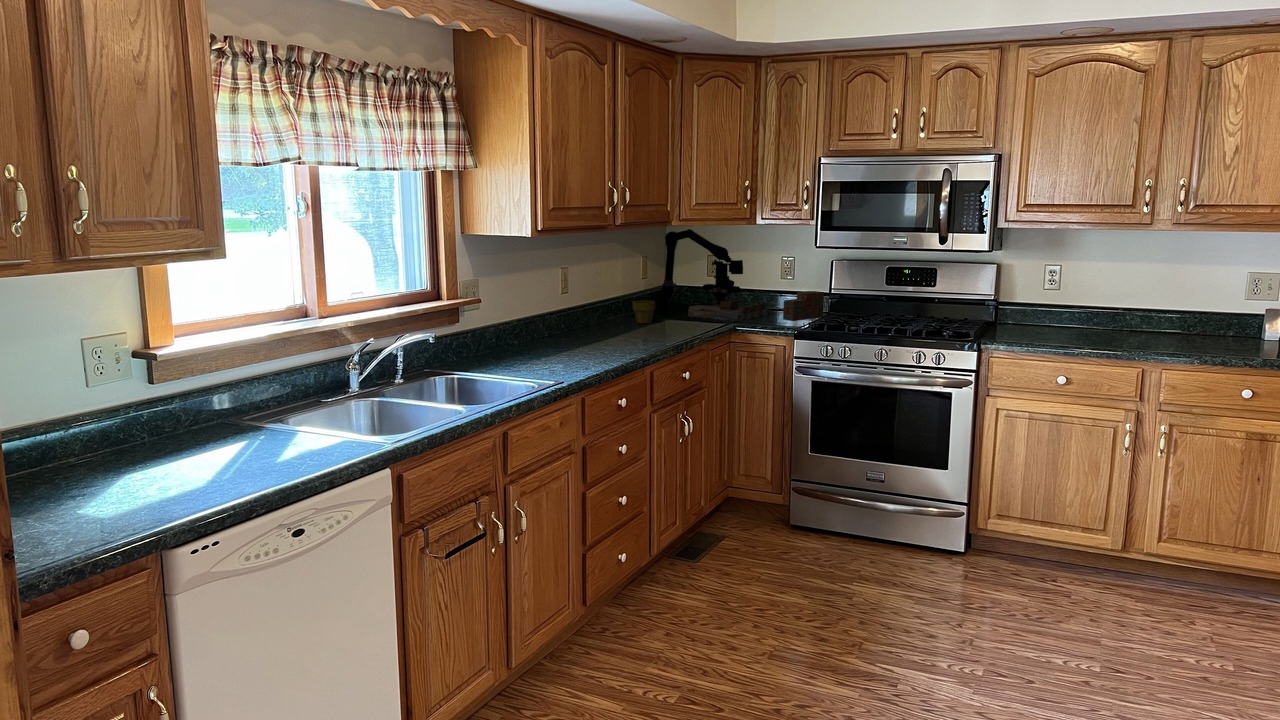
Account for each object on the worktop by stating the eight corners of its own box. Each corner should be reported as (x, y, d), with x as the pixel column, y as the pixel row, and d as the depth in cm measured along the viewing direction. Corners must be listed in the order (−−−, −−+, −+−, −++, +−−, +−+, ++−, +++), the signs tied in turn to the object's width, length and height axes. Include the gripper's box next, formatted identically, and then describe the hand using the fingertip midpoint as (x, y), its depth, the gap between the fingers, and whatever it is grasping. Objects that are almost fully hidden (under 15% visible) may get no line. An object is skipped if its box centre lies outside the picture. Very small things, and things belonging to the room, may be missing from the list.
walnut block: (730, 310, 434) (730, 302, 433) (720, 309, 438) (720, 301, 437) (737, 309, 439) (737, 301, 438) (727, 308, 442) (727, 300, 442)
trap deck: (737, 321, 420) (737, 308, 418) (676, 314, 441) (676, 302, 440) (769, 315, 441) (769, 302, 440) (709, 308, 463) (710, 297, 462)
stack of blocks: (792, 321, 421) (793, 294, 419) (782, 319, 426) (783, 293, 424) (823, 317, 434) (824, 291, 432) (813, 315, 439) (814, 290, 437)
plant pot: (629, 322, 419) (629, 300, 417) (650, 320, 423) (650, 299, 421) (637, 325, 410) (637, 303, 408) (658, 324, 413) (658, 302, 411)
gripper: (747, 274, 439) (746, 306, 442) (715, 271, 450) (714, 303, 453) (734, 275, 430) (733, 308, 433) (701, 273, 442) (701, 305, 445)
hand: (720, 306), depth 441 cm, fingers closed
